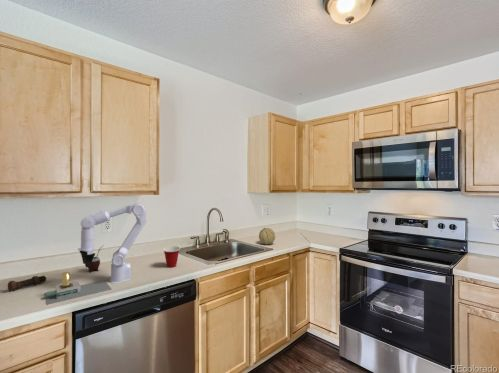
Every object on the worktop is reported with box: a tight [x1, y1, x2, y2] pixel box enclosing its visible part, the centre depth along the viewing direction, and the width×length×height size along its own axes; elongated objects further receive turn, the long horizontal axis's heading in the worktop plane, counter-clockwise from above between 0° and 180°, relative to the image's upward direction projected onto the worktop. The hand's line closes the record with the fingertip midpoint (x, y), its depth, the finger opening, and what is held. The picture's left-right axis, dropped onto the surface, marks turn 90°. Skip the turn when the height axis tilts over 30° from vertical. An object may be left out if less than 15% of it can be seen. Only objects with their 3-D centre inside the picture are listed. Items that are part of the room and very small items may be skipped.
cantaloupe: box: [258, 227, 276, 245], centre depth 232 cm, size 15×15×15 cm
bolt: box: [7, 275, 47, 293], centre depth 134 cm, size 6×5×15 cm
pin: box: [61, 271, 71, 289], centre depth 124 cm, size 3×3×10 cm
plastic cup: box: [162, 245, 181, 268], centre depth 168 cm, size 11×11×12 cm
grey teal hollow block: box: [45, 280, 81, 299], centre depth 123 cm, size 13×8×4 cm, turn 131°
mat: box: [44, 280, 112, 306], centre depth 128 cm, size 26×16×1 cm, turn 131°
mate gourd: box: [87, 244, 105, 273], centre depth 159 cm, size 8×8×15 cm
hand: (86, 265), depth 137 cm, fingers open, 7 cm apart
